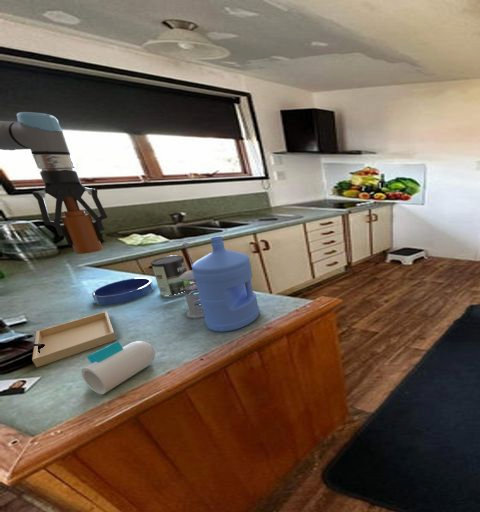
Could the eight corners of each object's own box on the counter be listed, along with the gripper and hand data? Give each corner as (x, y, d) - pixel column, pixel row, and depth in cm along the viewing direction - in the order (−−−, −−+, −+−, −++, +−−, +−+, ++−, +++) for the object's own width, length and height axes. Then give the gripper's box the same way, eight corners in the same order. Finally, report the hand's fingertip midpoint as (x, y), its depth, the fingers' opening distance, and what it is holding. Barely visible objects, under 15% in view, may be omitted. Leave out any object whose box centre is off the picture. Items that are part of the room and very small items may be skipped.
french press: (179, 314, 93) (159, 245, 85) (211, 299, 103) (195, 236, 95) (199, 320, 90) (179, 248, 82) (229, 304, 100) (215, 238, 92)
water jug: (197, 335, 82) (172, 246, 72) (219, 309, 96) (200, 233, 87) (252, 330, 84) (234, 243, 75) (265, 305, 98) (251, 230, 89)
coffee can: (195, 285, 116) (187, 254, 112) (186, 295, 107) (177, 262, 102) (167, 288, 113) (157, 256, 109) (155, 299, 104) (144, 265, 100)
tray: (36, 367, 70) (32, 359, 69) (39, 338, 82) (36, 331, 81) (116, 339, 80) (113, 332, 79) (109, 317, 92) (106, 310, 92)
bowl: (97, 311, 96) (93, 301, 95) (94, 296, 107) (90, 287, 106) (158, 294, 108) (155, 285, 107) (149, 282, 119) (146, 274, 118)
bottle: (76, 255, 87) (53, 198, 81) (74, 251, 90) (52, 196, 85) (103, 250, 91) (83, 196, 85) (101, 247, 95) (82, 194, 89)
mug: (146, 327, 68) (85, 358, 58) (166, 356, 70) (110, 392, 59) (123, 335, 73) (62, 366, 62) (142, 363, 75) (86, 398, 64)
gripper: (4, 170, 73) (40, 251, 81) (103, 169, 87) (127, 238, 94) (6, 170, 78) (41, 247, 85) (101, 169, 92) (123, 235, 99)
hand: (86, 242), depth 90 cm, fingers closed on bottle, 6 cm apart
